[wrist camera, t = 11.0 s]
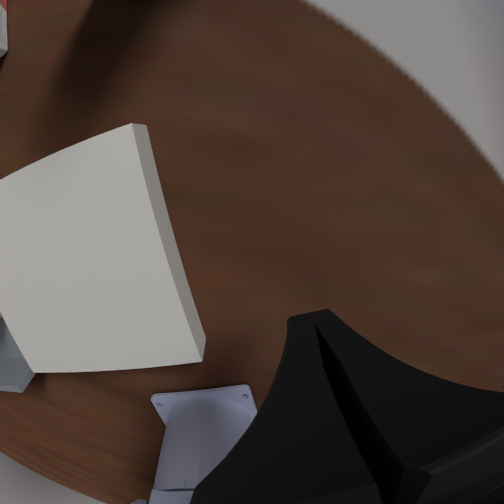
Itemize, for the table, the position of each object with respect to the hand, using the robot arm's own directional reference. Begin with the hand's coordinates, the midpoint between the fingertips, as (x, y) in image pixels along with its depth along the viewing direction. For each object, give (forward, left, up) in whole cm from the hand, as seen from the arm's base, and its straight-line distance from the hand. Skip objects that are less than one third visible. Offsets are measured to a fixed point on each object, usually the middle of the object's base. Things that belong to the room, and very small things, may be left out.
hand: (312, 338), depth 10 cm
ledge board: (+2, +13, -9) cm, 16 cm away
